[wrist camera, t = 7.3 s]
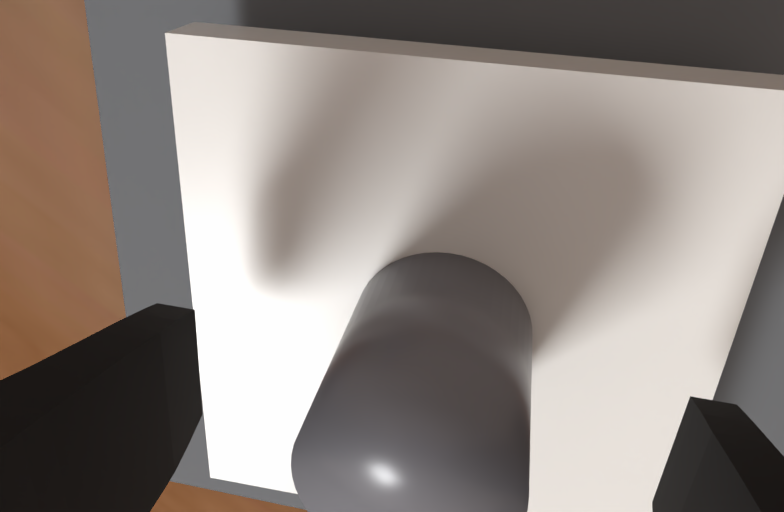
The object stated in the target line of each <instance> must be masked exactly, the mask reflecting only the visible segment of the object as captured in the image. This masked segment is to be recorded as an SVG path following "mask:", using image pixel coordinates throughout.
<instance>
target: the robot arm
mask: <svg viewBox="0 0 784 512" xmlns="http://www.w3.org/2000/svg"><path fill="white" fill-rule="evenodd" d="M202 414H203V413H202V400H201V387H200V373H199V360H198V347H197V333H196V320H195V310H194V309H188V308H183V307H177V306H171V305H165V304H160V303H156V304H154V305H152V306H149V307H147V308H145V309H142V310H140V311H138V312H136V313H134V314H132V315H130V316H128V317H126V318H124V319H122V320H120V321H118V322H116V323H114V324H112V325H110V326H108V327H106V328H104V329H103V330H101V331H99V332H97V333H95V334H93V335H91V336H89V337H87V338H85V339H83V340H81V341H79V342H77V343H75V344H73V345H71V346H69V347H68V348H66V349H64V350H62V351H60V352H58V353H56V354H54V355H52V356H50V357H48V358H46V359H44V360H42V361H40V362H38V363H36V364H34V365H32V366H30V367H28V368H26V369H24V370H22V371H20V372H18V373H15V374H13V375H11V376H9V377H7V378H5V379H3V380H0V512H150V511H151V509H152V507H153V506H154V504H155V503H156V501H157V500H158V498H159V497H160V495H161V493H162V492H163V490H164V489H165V487H166V486H167V484H168V482H169V481H170V479H171V478H172V476H173V475H174V473H175V471H176V469H177V467H178V465H179V463H180V461H181V459H182V457H183V455H184V453H185V451H186V449H187V447H188V445H189V443H190V441H191V438H192V436H193V434H194V432H195V430H196V427H197V425H198V423H199V421H200V419H201V417H202ZM652 510H653V512H784V456H783V455H782V454H781V453H780V451H779V450H778V449H777V448H776V447H775V446H774V445H773V444H772V442H771V441H770V440H769V439H768V438H767V437H766V436H765V434H764V433H763V432H762V431H761V430H760V429H759V428H758V427H757V425H756V424H755V423H754V422H753V421H752V420H751V419H750V418H749V417H748V416H747V414H746V413H745V412H744V411H743V410H742V409H741V408H740V407H739V406H738V405H737V404H731V403H726V402H720V401H714V400H709V399H703V398H697V397H691V396H690V398H689V401H688V404H687V407H686V409H685V412H684V415H683V418H682V420H681V423H680V426H679V429H678V432H677V434H676V437H675V440H674V443H673V445H672V448H671V451H670V454H669V457H668V459H667V462H666V465H665V468H664V471H663V473H662V476H661V479H660V482H659V484H658V487H657V490H656V493H655V496H654V498H653V501H652Z"/></svg>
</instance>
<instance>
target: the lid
mask: <svg viewBox="0 0 784 512" xmlns="http://www.w3.org/2000/svg"><path fill="white" fill-rule="evenodd" d="M165 40H166V50H167V60H168V69H169V79H170V89H171V99H172V108H173V118H174V128H175V138H176V148H177V157H178V167H179V177H180V187H181V196H182V206H183V216H184V226H185V235H186V245H187V255H188V265H189V274H190V284H191V294H192V304H193V309H194V310H195V320H196V333H197V347H198V360H199V372H200V382H201V392H202V401H203V411H204V421H205V431H206V441H207V450H208V460H209V470H210V477H211V478H216V479H221V480H226V481H232V482H237V483H242V484H247V485H253V486H258V487H263V488H268V489H274V490H279V491H284V492H289V493H295V494H298V496H299V498H300V500H301V501H302V503H303V505H304V506H305V508H306V510H307V511H308V512H653V510H652V501H653V498H654V496H655V493H656V490H657V487H658V484H659V482H660V479H661V476H662V473H663V471H664V468H665V465H666V462H667V459H668V457H669V454H670V451H671V448H672V445H673V443H674V440H675V437H676V434H677V432H678V429H679V426H680V423H681V420H682V418H683V415H684V412H685V409H686V407H687V404H688V401H689V398H690V396H691V397H697V398H703V399H709V400H713V397H714V394H715V391H716V388H717V386H718V383H719V380H720V377H721V374H722V371H723V368H724V365H725V362H726V360H727V357H728V354H729V351H730V348H731V345H732V342H733V339H734V337H735V334H736V331H737V328H738V325H739V322H740V319H741V316H742V313H743V311H744V308H745V305H746V302H747V299H748V296H749V293H750V290H751V288H752V285H753V282H754V279H755V276H756V273H757V270H758V267H759V264H760V262H761V259H762V256H763V253H764V250H765V247H766V244H767V241H768V239H769V236H770V233H771V230H772V227H773V224H774V221H775V218H776V215H777V213H778V210H779V207H780V204H781V201H782V198H783V195H784V75H778V74H767V73H756V72H745V71H734V70H723V69H712V68H701V67H689V66H678V65H667V64H656V63H645V62H634V61H623V60H612V59H601V58H590V57H579V56H568V55H556V54H545V53H534V52H523V51H512V50H501V49H490V48H479V47H468V46H457V45H446V44H435V43H423V42H412V41H401V40H390V39H379V38H368V37H357V36H346V35H335V34H324V33H313V32H301V31H290V30H279V29H268V28H257V27H246V26H235V25H224V24H213V23H202V22H193V23H190V24H187V25H185V26H182V27H179V28H177V29H174V30H171V31H168V32H166V33H165Z"/></svg>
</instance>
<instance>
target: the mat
mask: <svg viewBox="0 0 784 512" xmlns="http://www.w3.org/2000/svg"><path fill="white" fill-rule="evenodd" d="M84 1H85V9H86V16H87V24H88V32H89V39H90V47H91V54H92V62H93V69H94V77H95V84H96V92H97V100H98V107H99V115H100V122H101V130H102V137H103V145H104V153H105V160H106V168H107V175H108V183H109V190H110V198H111V206H112V213H113V221H114V228H115V236H116V243H117V251H118V258H119V266H120V274H121V281H122V289H123V296H124V304H125V311H126V317H128V316H130V315H132V314H134V313H136V312H138V311H140V310H142V309H145V308H147V307H149V306H152V305H154V304H156V303H160V304H165V305H171V306H177V307H183V308H188V309H193V304H192V294H191V284H190V274H189V265H188V255H187V245H186V235H185V226H184V216H183V206H182V196H181V187H180V177H179V167H178V157H177V148H176V138H175V128H174V118H173V108H172V99H171V89H170V79H169V69H168V60H167V50H166V40H165V33H166V32H168V31H171V30H174V29H177V28H179V27H182V26H185V25H187V24H190V23H193V22H202V23H213V24H224V25H235V26H246V27H257V28H268V29H279V30H290V31H301V32H313V33H324V34H335V35H346V36H357V37H368V38H379V39H390V40H401V41H412V42H423V43H435V44H446V45H457V46H468V47H479V48H490V49H501V50H512V51H523V52H534V53H545V54H556V55H568V56H579V57H590V58H601V59H612V60H623V61H634V62H645V63H656V64H667V65H678V66H689V67H701V68H712V69H723V70H734V71H745V72H756V73H767V74H778V75H784V0H84ZM199 373H200V372H199ZM200 387H201V382H200ZM201 400H202V392H201ZM713 400H714V401H720V402H726V403H731V404H737V405H738V406H739V407H740V408H741V409H742V410H743V411H744V412H745V413H746V414H747V416H748V417H749V418H750V419H751V420H752V421H753V422H754V423H755V424H756V425H757V427H758V428H759V429H760V430H761V431H762V432H763V433H764V434H765V436H766V437H767V438H768V439H769V440H770V441H771V442H772V444H773V445H774V446H775V447H776V448H777V449H778V450H779V451H780V453H781V454H782V455H783V456H784V195H783V198H782V201H781V204H780V207H779V210H778V213H777V215H776V218H775V221H774V224H773V227H772V230H771V233H770V236H769V239H768V241H767V244H766V247H765V250H764V253H763V256H762V259H761V262H760V264H759V267H758V270H757V273H756V276H755V279H754V282H753V285H752V288H751V290H750V293H749V296H748V299H747V302H746V305H745V308H744V311H743V313H742V316H741V319H740V322H739V325H738V328H737V331H736V334H735V337H734V339H733V342H732V345H731V348H730V351H729V354H728V357H727V360H726V362H725V365H724V368H723V371H722V374H721V377H720V380H719V383H718V386H717V388H716V391H715V394H714V397H713ZM202 413H203V414H202V417H201V419H200V421H199V423H198V425H197V427H196V430H195V432H194V434H193V436H192V438H191V441H190V443H189V445H188V447H187V449H186V451H185V453H184V455H183V457H182V459H181V461H180V463H179V465H178V467H177V469H176V471H175V473H174V475H173V476H172V478H171V479H170V481H172V482H177V483H182V484H186V485H191V486H196V487H201V488H205V489H210V490H215V491H220V492H224V493H229V494H234V495H239V496H243V497H248V498H253V499H258V500H262V501H267V502H272V503H277V504H281V505H286V506H291V507H296V508H300V509H305V510H306V508H305V506H304V505H303V503H302V501H301V500H300V498H299V496H298V494H295V493H289V492H284V491H279V490H274V489H268V488H263V487H258V486H253V485H247V484H242V483H237V482H232V481H226V480H221V479H216V478H211V477H210V470H209V460H208V450H207V441H206V431H205V421H204V411H203V401H202Z"/></svg>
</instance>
